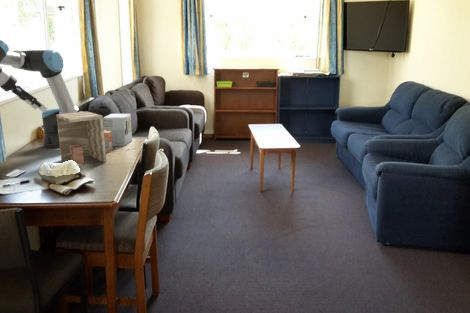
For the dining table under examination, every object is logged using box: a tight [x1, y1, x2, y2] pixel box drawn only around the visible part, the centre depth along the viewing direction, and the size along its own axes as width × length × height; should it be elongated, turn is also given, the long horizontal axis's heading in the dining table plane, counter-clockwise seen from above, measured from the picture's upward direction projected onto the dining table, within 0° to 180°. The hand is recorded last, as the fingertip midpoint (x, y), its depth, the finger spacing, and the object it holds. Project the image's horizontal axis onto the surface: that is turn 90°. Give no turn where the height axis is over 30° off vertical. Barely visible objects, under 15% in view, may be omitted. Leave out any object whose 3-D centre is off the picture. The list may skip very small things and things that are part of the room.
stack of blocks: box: [104, 130, 114, 153], centre depth 276 cm, size 21×6×12 cm, turn 86°
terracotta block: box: [70, 144, 85, 165], centre depth 248 cm, size 5×5×10 cm
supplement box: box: [103, 113, 133, 147], centre depth 297 cm, size 17×13×18 cm
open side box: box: [57, 111, 107, 163], centre depth 252 cm, size 21×17×26 cm
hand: (41, 109), depth 232 cm, fingers open, 13 cm apart
